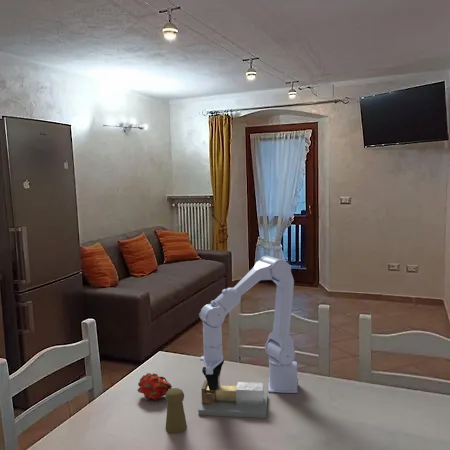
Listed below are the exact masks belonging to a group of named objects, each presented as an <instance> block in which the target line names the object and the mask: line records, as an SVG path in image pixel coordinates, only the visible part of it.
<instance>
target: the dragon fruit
mask: <svg viewBox="0 0 450 450" xmlns="http://www.w3.org/2000/svg"><path fill="white" fill-rule="evenodd" d="M168 381H169V380H167V378H165V377H164V376H159V374H157V373H154V372H153V373H150V372H147V373H146V374H145V375H142V377H141V378H140V379H139V382H138V384H137V385H138V389H137V390H136V391H137V392H138V393H141V394H143V395H144V398H145V400H146V401H149V400H150V399H152V400H154V401H157V402H159V401H164V400H165V398H164V396H166V393H167V391H168V390H170V389H173V386H172V384H171V383H170V382H168Z"/></svg>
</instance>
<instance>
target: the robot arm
mask: <svg viewBox="0 0 450 450" xmlns="http://www.w3.org/2000/svg"><path fill="white" fill-rule="evenodd" d="M260 281H272V282H273V283H274V284H275V285H276V290H275V291H276V292H275V302H274V313H273V325H272V332H270V333H269V334H268V337H267V340H266V343H265V344H264V345H265V346H264V350H265V353H266V355H268V369H269V371H268V372H269V373H268V374H269V375H268V376H269V379H268V384H267V393H268V392H269V393H283V394H284V393H285V394H297V393H298V385H299V378H298V362H297V361H296V360H295V358H296V351H295V347H294V345H295V344H294V343H295V342H294V340H293V338H292V336H291V335H290V330H291V321H292V320H291V319H292V311H293V310H292V309H293V299H294V298H293V297H294V285H295V280H294V276H293V274H292V265H291V264H289V263H288V262H287V261H286V260H285V259H282V258H281V259H280V258H276V257H274V256H272V255H263V256H262V257H261V258H260V259H259V260H257V261H255V263H254V266H253V267H252V268H251V269H250V270H249V271H248V272H247V273H246V274H245V275H244V277H242V278H241V279H240V280H239V281H238V282H237V283H236V285H235V286H234V287H227V288H224V289H222V290H221V293H220V294H219V295H218V296H217V297H216V298H215V299H214V300H211V301H210V303H208V304H205V305H203V307H202V308H201V309H200V311H199V313H198V317H199V318H200V320H201V321H202V342H203V345H202V346H203V347H202V348H203V355H202V356H200V357H199V360H200V361H201V362H203V364H204V366H203V367H202V374H203V375H204V378H205V379H206V380H207V383H208V387H209V390H214V391H216V389H217V384H218V377H219V376H220V377H221V371H222V367H223V364H224V362H225V358H224V356H223V335H222V334H223V333H222V331H223V330H222V324H223V323H224V321H225V318H226V317H227V315H228V314H229V313H230V312H231V311H232V310H233V309H234V308H235V307H236V306H237V305H239V304H240V303H241V300H242V299H241V298H242V295H244V294H245V293H246V292H248V291H249V290H250V289H251V288H253V286H255V285H256V284H257V283H259V282H260Z"/></svg>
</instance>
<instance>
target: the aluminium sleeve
mask: <svg viewBox="0 0 450 450" xmlns="http://www.w3.org/2000/svg"><path fill="white" fill-rule="evenodd" d="M236 386H237V387H236V405H237V406H259V407H263V401H264V393H265V392H264V382H254V381H251V382H250V381H249V382H247V381H237V384H236Z"/></svg>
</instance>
